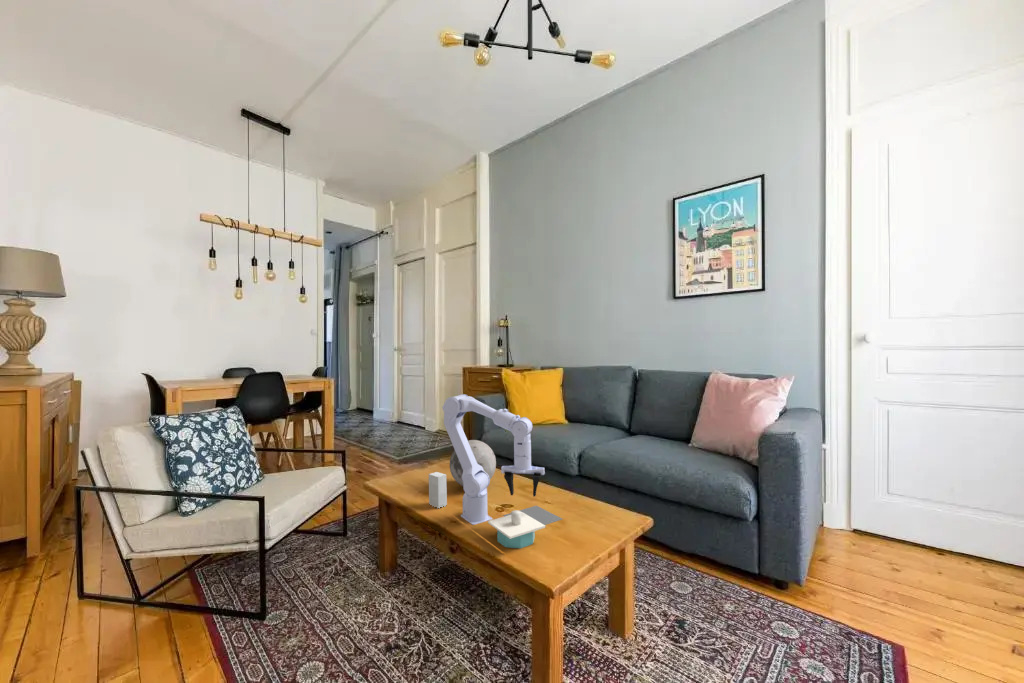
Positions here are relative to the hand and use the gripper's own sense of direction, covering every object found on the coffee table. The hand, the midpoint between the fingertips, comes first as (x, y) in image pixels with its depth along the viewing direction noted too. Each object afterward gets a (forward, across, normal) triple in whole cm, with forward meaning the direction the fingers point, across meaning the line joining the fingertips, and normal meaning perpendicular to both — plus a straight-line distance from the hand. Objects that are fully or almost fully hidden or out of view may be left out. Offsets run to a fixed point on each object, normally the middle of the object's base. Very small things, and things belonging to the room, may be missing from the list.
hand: (523, 494), depth 139 cm
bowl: (+10, -1, -11) cm, 15 cm away
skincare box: (+11, -35, +13) cm, 39 cm away
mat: (+10, +2, +6) cm, 12 cm away
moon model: (+11, -28, +35) cm, 46 cm away
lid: (+6, -1, -10) cm, 12 cm away
